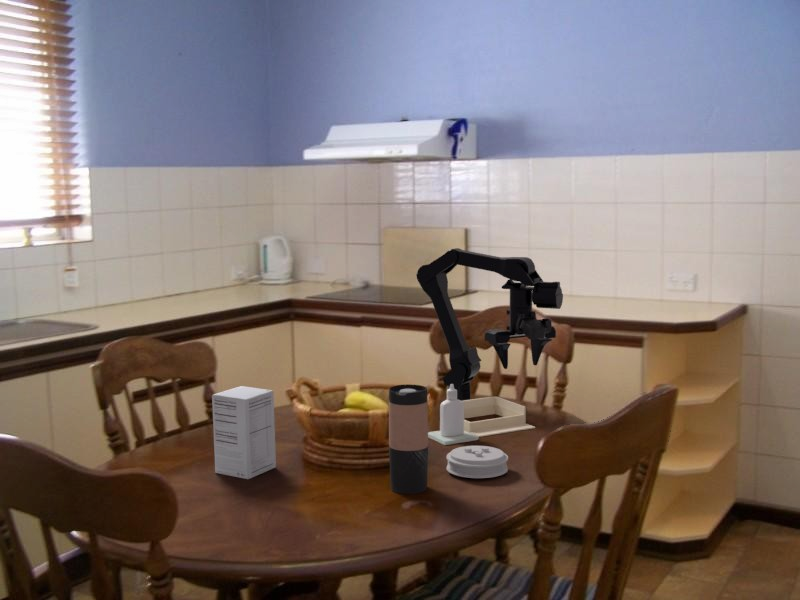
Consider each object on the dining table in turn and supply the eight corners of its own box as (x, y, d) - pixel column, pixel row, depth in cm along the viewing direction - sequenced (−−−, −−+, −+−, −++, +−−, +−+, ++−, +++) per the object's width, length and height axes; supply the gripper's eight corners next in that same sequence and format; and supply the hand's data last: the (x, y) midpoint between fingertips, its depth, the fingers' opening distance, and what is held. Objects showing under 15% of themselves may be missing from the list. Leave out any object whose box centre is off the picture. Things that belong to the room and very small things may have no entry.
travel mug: (419, 480, 191) (418, 382, 189) (434, 491, 184) (434, 390, 182) (383, 485, 189) (382, 386, 186) (397, 496, 182) (396, 394, 179)
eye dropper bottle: (439, 432, 225) (439, 382, 223) (463, 432, 225) (463, 382, 223) (440, 437, 220) (440, 386, 219) (464, 436, 220) (464, 386, 219)
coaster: (425, 435, 224) (425, 432, 224) (458, 430, 229) (458, 427, 229) (445, 445, 217) (445, 441, 217) (478, 439, 221) (478, 436, 221)
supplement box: (243, 461, 206) (241, 385, 203) (277, 467, 201) (275, 389, 199) (213, 473, 197) (210, 393, 195) (247, 480, 193) (245, 398, 191)
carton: (441, 421, 238) (441, 403, 238) (495, 413, 246) (495, 396, 245) (478, 437, 223) (479, 418, 223) (535, 428, 231) (535, 410, 230)
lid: (470, 486, 188) (470, 462, 187) (434, 470, 199) (434, 447, 198) (520, 475, 195) (520, 452, 194) (483, 460, 205) (483, 438, 205)
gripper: (508, 313, 231) (508, 376, 233) (569, 307, 240) (569, 368, 242) (483, 308, 241) (483, 368, 243) (543, 303, 250) (542, 361, 252)
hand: (520, 366), depth 245 cm, fingers open, 9 cm apart
